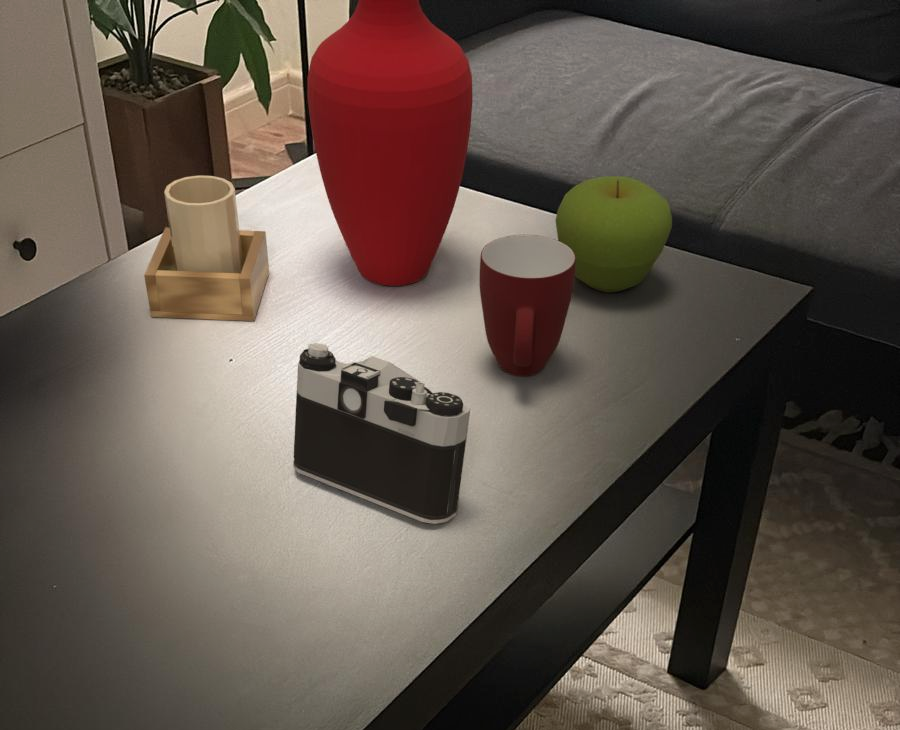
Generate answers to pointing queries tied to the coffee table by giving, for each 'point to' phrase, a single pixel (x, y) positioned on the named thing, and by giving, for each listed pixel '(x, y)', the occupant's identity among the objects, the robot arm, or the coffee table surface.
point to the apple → (613, 230)
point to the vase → (390, 135)
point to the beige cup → (204, 225)
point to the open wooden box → (208, 284)
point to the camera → (379, 434)
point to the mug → (525, 299)
